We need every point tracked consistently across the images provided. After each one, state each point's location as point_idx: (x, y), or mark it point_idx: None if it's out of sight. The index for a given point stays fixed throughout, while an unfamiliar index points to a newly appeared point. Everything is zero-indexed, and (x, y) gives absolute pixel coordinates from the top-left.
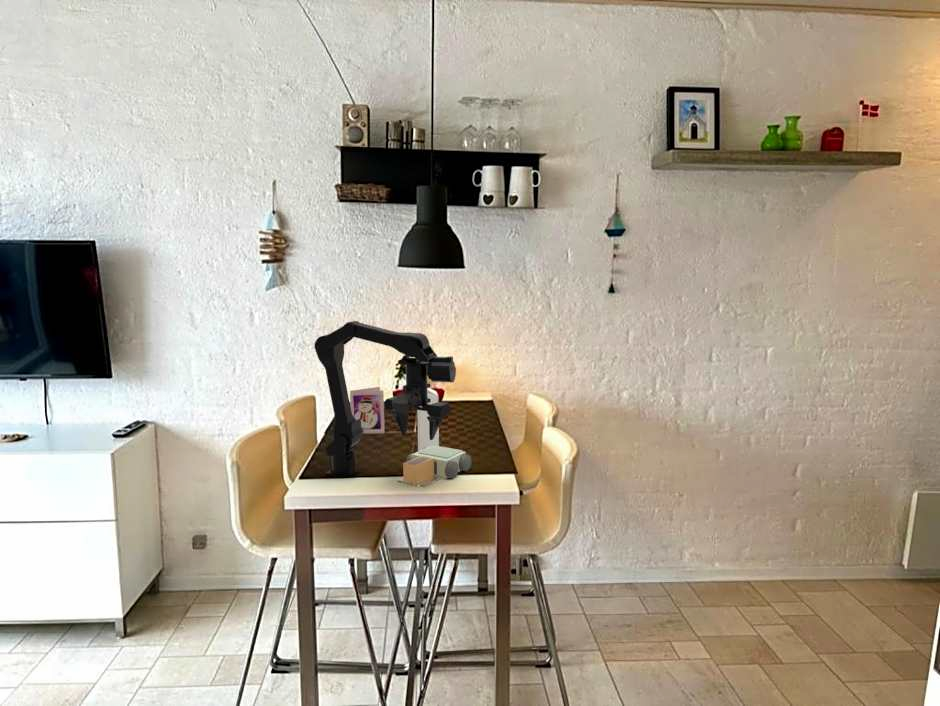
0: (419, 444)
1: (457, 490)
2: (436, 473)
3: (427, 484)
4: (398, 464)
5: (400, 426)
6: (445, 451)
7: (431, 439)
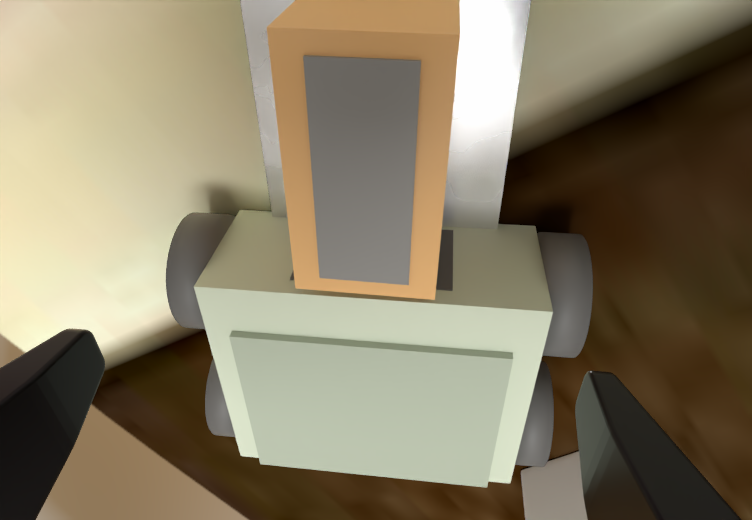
0: None
1: (14, 54)
2: None
3: (247, 35)
4: (698, 303)
5: (688, 503)
6: (338, 425)
7: (63, 335)
